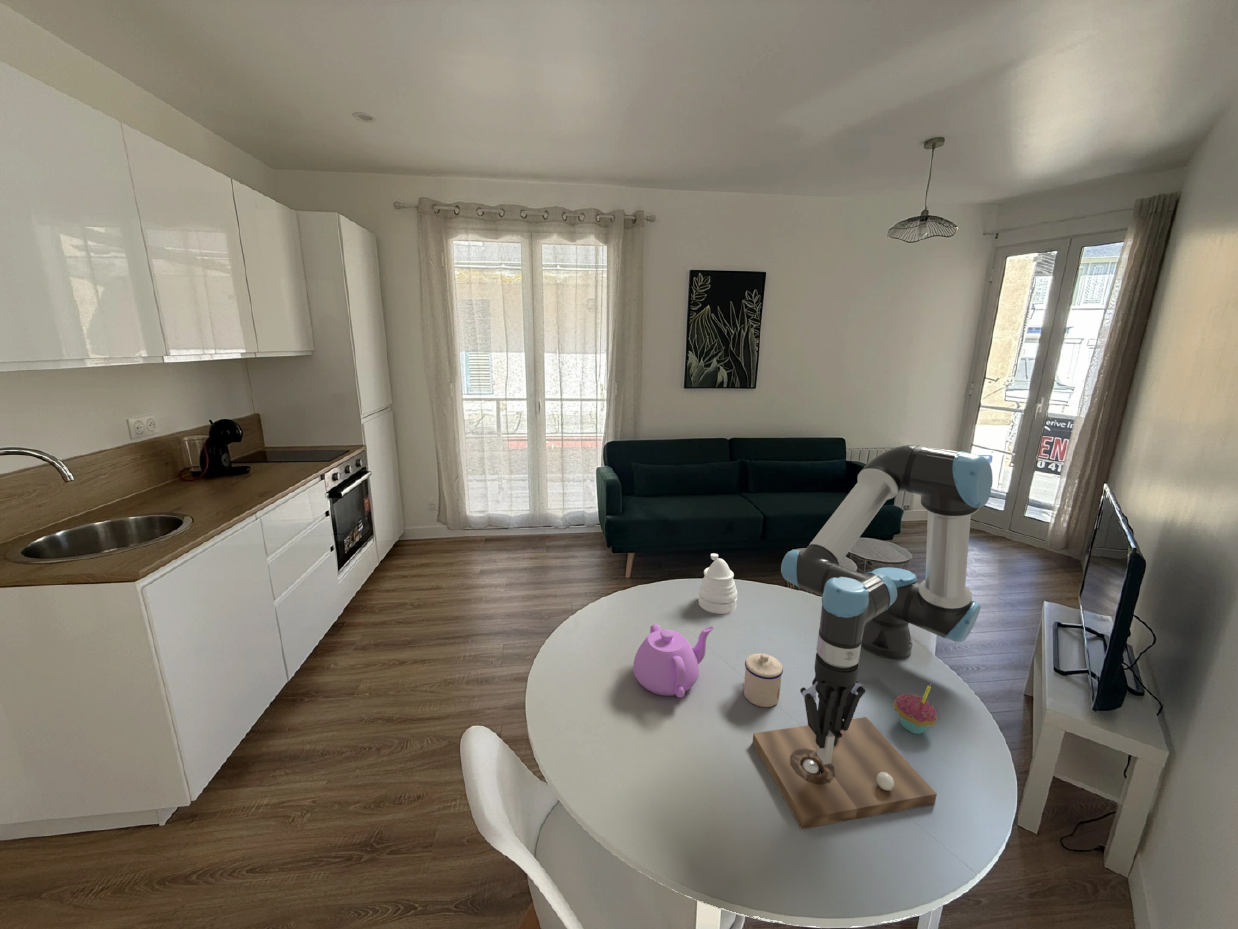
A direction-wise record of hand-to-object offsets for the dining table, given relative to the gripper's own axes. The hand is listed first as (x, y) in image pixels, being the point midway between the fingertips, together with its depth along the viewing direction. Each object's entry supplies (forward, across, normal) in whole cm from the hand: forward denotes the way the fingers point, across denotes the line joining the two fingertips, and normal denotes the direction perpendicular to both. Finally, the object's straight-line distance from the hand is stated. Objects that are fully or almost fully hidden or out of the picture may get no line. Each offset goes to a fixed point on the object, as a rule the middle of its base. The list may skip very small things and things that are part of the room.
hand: (823, 758), depth 97 cm
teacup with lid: (+4, -2, +25) cm, 25 cm away
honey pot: (+4, +4, +68) cm, 68 cm away
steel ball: (+2, -3, 0) cm, 4 cm away
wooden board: (+4, +4, 0) cm, 5 cm away
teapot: (+4, -22, +34) cm, 40 cm away
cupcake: (+4, +28, +8) cm, 30 cm away
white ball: (0, +8, -7) cm, 11 cm away
